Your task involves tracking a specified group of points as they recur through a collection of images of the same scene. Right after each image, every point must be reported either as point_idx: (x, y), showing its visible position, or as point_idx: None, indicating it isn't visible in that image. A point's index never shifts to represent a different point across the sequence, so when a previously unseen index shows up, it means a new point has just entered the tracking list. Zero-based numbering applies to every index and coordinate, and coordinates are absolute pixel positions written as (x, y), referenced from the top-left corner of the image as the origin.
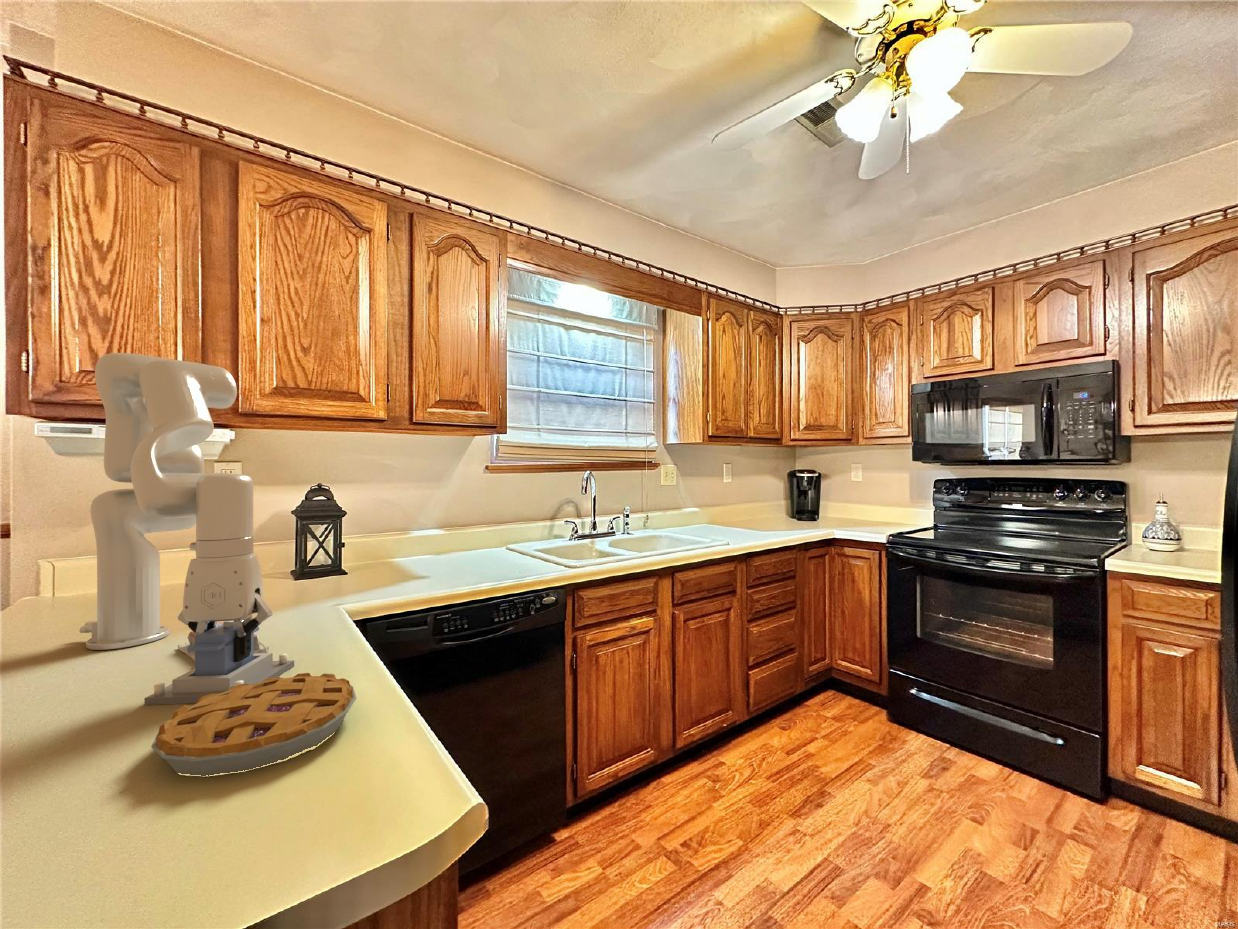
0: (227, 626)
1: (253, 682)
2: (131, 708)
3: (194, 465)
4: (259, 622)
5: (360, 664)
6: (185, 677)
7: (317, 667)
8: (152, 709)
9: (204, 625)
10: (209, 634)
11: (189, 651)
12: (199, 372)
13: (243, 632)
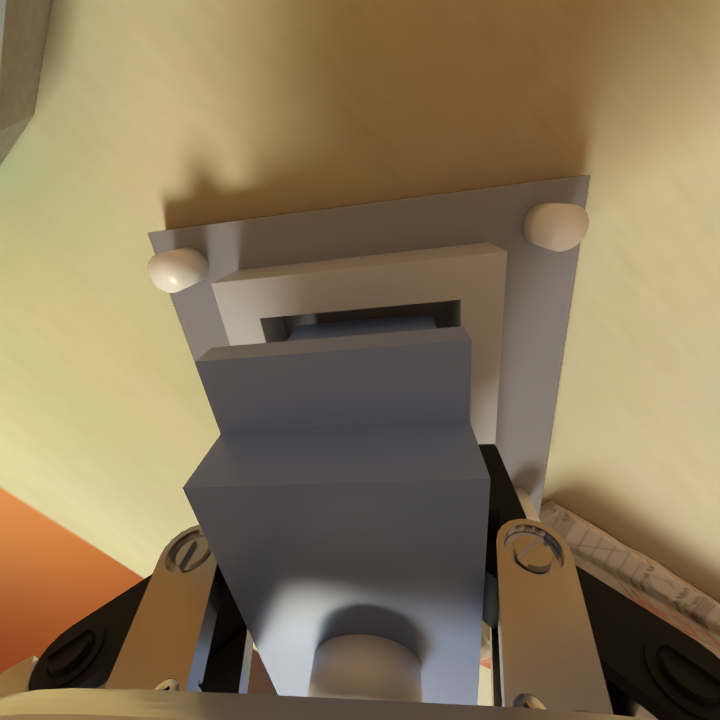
0: (355, 648)
1: None
2: (614, 137)
3: None
4: (29, 663)
5: (67, 505)
6: (457, 287)
7: (176, 493)
8: (496, 131)
9: (512, 653)
10: (360, 508)
11: (708, 607)
12: None
13: (165, 561)
